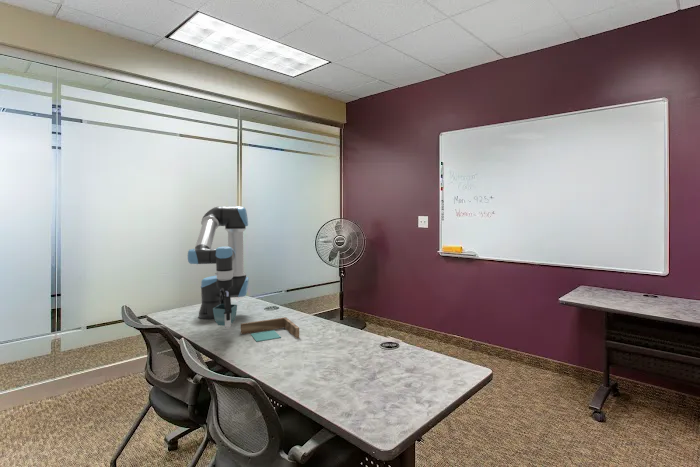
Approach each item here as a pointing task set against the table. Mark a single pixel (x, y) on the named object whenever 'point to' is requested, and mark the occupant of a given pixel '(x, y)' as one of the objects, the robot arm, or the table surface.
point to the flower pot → (220, 314)
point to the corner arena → (270, 326)
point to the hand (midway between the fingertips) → (225, 322)
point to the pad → (265, 335)
